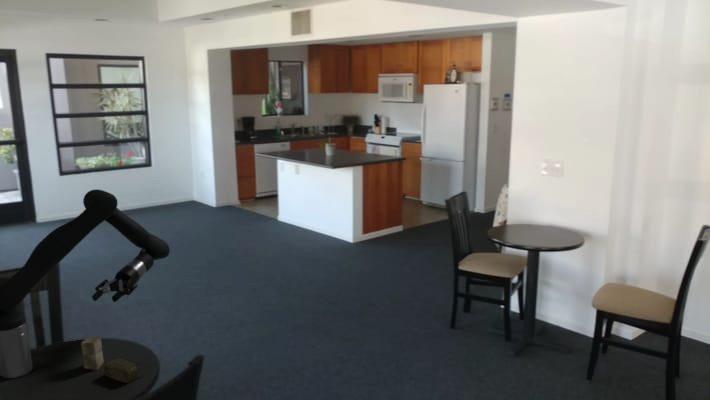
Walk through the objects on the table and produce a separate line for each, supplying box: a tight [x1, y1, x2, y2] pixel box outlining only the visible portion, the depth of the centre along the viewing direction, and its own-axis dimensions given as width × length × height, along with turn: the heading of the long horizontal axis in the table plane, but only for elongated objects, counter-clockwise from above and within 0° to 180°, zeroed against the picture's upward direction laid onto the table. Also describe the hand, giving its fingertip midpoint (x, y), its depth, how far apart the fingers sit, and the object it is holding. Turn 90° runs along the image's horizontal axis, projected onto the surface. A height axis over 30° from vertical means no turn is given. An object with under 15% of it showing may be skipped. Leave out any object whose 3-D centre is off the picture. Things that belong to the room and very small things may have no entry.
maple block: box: [80, 336, 105, 371], centre depth 192 cm, size 4×4×10 cm
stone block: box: [104, 357, 141, 384], centre depth 186 cm, size 6×12×5 cm, turn 63°
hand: (103, 299), depth 196 cm, fingers open, 8 cm apart
